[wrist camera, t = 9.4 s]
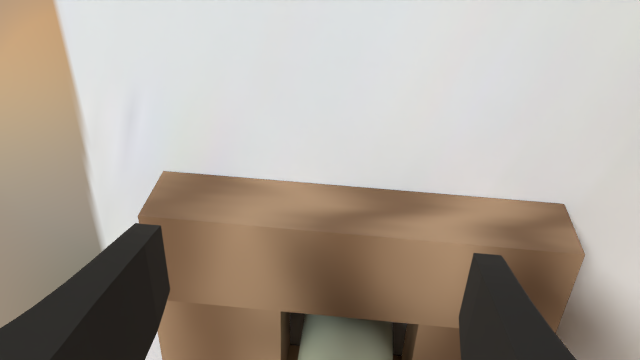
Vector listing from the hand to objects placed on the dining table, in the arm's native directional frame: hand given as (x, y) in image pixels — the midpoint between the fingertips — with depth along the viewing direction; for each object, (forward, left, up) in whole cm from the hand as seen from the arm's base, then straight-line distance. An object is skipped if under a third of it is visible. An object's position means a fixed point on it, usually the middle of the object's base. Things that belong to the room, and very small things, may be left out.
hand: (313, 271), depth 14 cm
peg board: (-1, +11, -9) cm, 15 cm away
